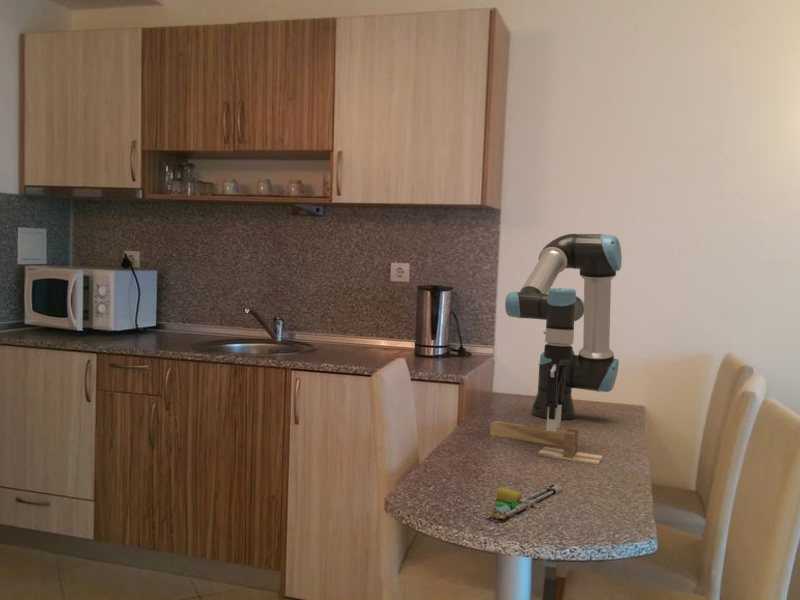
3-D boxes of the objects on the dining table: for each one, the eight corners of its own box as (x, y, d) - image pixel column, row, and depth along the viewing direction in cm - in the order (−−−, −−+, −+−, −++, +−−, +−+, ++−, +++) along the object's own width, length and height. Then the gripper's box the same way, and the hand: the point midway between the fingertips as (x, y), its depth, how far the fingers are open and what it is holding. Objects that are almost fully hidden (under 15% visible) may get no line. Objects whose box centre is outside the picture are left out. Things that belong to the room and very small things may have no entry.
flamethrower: (466, 513, 137) (511, 528, 132) (468, 500, 137) (513, 515, 131) (528, 484, 161) (569, 496, 155) (530, 473, 161) (570, 485, 155)
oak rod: (494, 433, 211) (494, 420, 211) (572, 445, 201) (573, 432, 201) (490, 436, 208) (490, 423, 208) (570, 448, 198) (570, 434, 197)
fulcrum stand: (544, 449, 194) (545, 424, 194) (602, 457, 188) (604, 432, 187) (537, 455, 187) (539, 429, 187) (598, 464, 180) (600, 438, 180)
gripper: (551, 341, 197) (546, 422, 198) (538, 345, 182) (532, 433, 183) (578, 343, 194) (572, 425, 195) (566, 347, 179) (561, 437, 180)
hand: (553, 429), depth 189 cm, fingers open, 4 cm apart
